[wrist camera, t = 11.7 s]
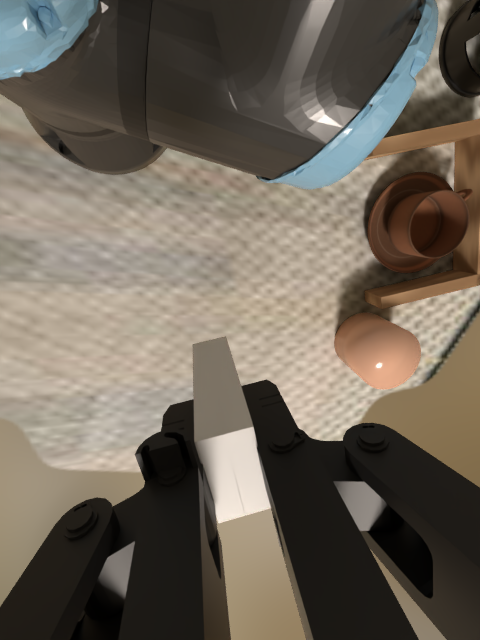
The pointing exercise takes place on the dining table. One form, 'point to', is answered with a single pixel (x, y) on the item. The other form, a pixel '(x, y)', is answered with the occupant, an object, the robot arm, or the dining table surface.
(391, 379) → the peach rounded capsule
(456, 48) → the french press
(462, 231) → the cup and saucer
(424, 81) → the dining table surface
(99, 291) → the dining table surface
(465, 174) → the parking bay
